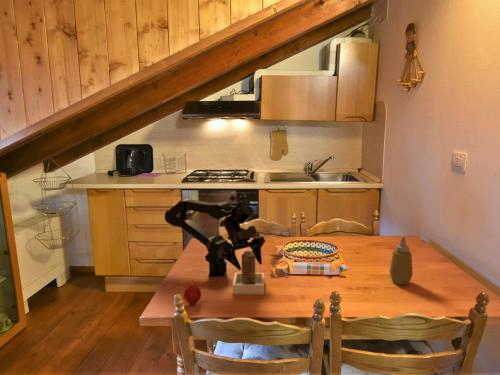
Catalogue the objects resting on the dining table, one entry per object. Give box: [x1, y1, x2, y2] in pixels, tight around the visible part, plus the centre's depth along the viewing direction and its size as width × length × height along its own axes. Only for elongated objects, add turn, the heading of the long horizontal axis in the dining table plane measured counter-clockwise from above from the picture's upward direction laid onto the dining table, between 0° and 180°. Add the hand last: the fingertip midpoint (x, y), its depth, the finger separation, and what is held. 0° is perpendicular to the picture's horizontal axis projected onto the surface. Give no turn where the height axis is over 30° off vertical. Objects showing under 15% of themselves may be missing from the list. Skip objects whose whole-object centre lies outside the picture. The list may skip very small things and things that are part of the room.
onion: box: [183, 282, 202, 306], centre depth 125 cm, size 6×6×8 cm
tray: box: [232, 272, 265, 296], centre depth 138 cm, size 11×11×4 cm
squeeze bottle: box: [389, 236, 413, 286], centre depth 140 cm, size 8×8×18 cm
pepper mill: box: [241, 250, 256, 284], centre depth 137 cm, size 5×5×13 cm
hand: (250, 266), depth 135 cm, fingers open, 9 cm apart
